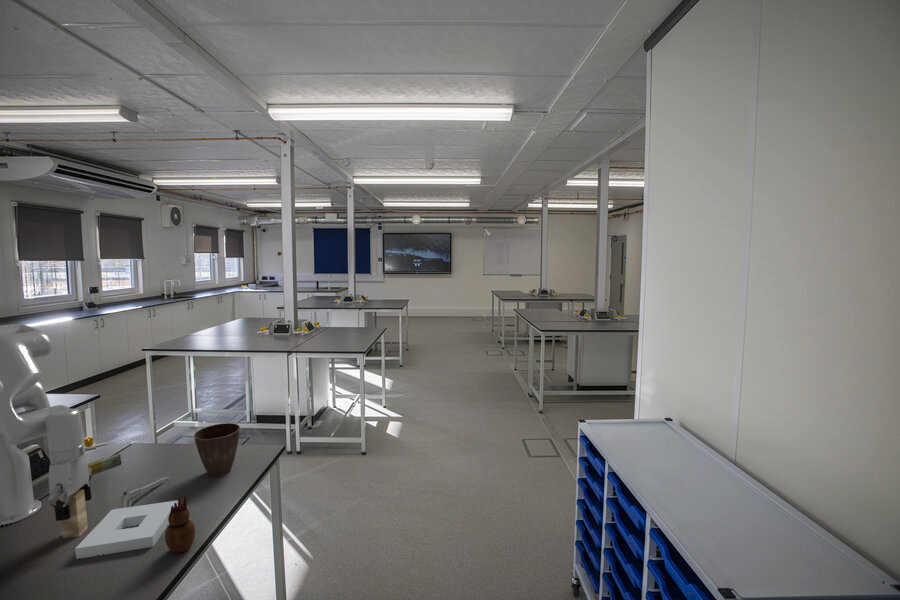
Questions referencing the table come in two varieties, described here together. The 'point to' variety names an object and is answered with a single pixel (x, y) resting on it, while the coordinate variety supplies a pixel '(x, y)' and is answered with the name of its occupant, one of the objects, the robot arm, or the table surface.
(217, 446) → the plant pot
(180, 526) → the wooden figurine
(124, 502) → the caliper
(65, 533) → the maple peg
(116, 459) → the medication box
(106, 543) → the socket plate
